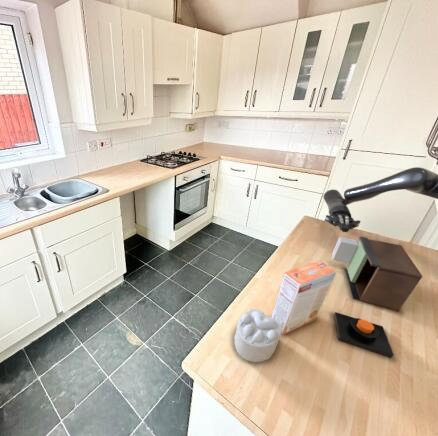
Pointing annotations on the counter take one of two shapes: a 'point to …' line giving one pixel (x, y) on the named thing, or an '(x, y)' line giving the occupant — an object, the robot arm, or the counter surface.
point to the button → (365, 326)
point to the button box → (362, 335)
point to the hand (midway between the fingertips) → (345, 230)
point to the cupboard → (384, 275)
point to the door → (350, 256)
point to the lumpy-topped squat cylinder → (257, 336)
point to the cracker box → (302, 295)
